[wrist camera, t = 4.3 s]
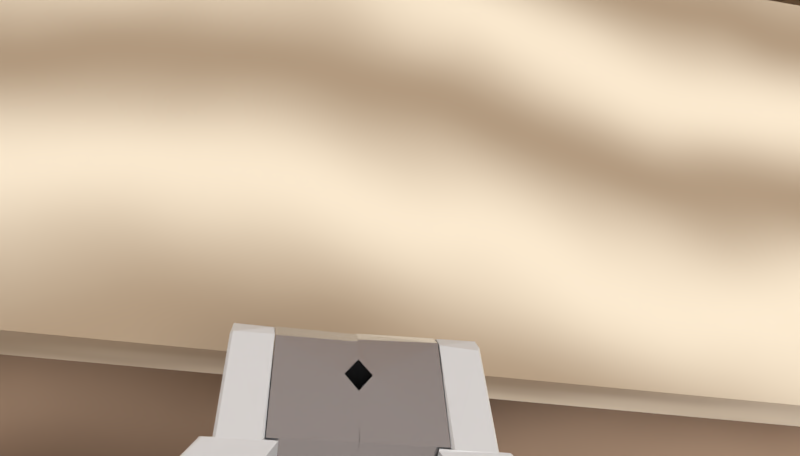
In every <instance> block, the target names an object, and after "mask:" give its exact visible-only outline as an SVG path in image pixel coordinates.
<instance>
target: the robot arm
mask: <svg viewBox="0 0 800 456" xmlns="http://www.w3.org/2000/svg"><path fill="white" fill-rule="evenodd" d="M274 339H275V345H274ZM273 352H274V354H273ZM180 456H513V455H512V454H511V453H503V452H499V449H498V444H497V439H496V434H495V428H494V423H493V418H492V412H491V407H490V402H489V396H488V391H487V386H486V380H485V375H484V370H483V365H482V359H481V354H480V349H479V347H478V345H477V344H476V343H475V341H460V340H445V339H436V340H434V339H432V338H417V337H402V336H386V335H371V334H347V333H337V332H327V331H317V330H307V329H297V328H287V327H277V328H276V336H275V327H270V326H260V325H250V324H240V323H234V324H233V326H232V329H231V331H230V335H229V341H228V347H227V353H226V359H225V365H224V371H223V377H222V383H221V389H220V395H219V400H218V406H217V412H216V418H215V424H214V430H213V436H199V437H198V438H197V439H196V440H195V441H194V442H193V443H192V444H191V445H190V446H189V447H188V448H187V449H186V450H185V451H184V452H183V453H182V454H181V455H180Z"/></svg>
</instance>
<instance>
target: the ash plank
mask: <svg viewBox="0 0 800 456" xmlns="http://www.w3.org/2000/svg"><path fill="white" fill-rule="evenodd" d="M234 323H240V324H250V325H260V326H270V327H275V336H276V328H277V327H287V328H297V329H307V330H317V331H327V332H337V333H347V334H371V335H386V336H402V337H417V338H432V339H434V340H436V339H445V340H460V341H475V343H476V344H477V345H478V347H479V349H480V354H481V359H482V365H483V370H484V375H485V380H486V386H487V391H488V396H489V399H500V400H511V401H522V402H533V403H544V404H555V405H567V406H578V407H589V408H600V409H611V410H622V411H633V412H644V413H655V414H666V415H677V416H688V417H699V418H710V419H721V420H733V421H744V422H755V423H766V424H777V425H788V426H799V427H800V6H799V5H793V4H787V3H782V2H776V1H770V0H0V354H2V355H13V356H24V357H35V358H46V359H57V360H68V361H80V362H91V363H102V364H113V365H124V366H135V367H146V368H157V369H168V370H179V371H190V372H201V373H212V374H223V371H224V365H225V359H226V353H227V347H228V341H229V335H230V331H231V329H232V326H233V324H234ZM274 345H275V339H274ZM273 354H274V352H273Z"/></svg>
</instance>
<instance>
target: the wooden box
mask: <svg viewBox="0 0 800 456" xmlns="http://www.w3.org/2000/svg"><path fill="white" fill-rule="evenodd" d="M770 1H776V2H782V3H787V4H793V5H799V6H800V0H770ZM222 377H223V374H212V373H201V372H190V371H179V370H168V369H157V368H146V367H135V366H124V365H113V364H102V363H91V362H80V361H68V360H57V359H46V358H35V357H24V356H13V355H2V354H0V456H180V455H181V454H182V453H183V452H184V451H185V450H186V449H187V448H188V447H189V446H190V445H191V444H192V443H193V442H194V441H195V440H196V439H197V438H198V437H199V436H213V430H214V424H215V418H216V412H217V406H218V400H219V395H220V389H221V383H222ZM489 402H490V407H491V412H492V418H493V423H494V428H495V434H496V439H497V444H498V449H499V452H503V453H511V454H512V455H513V456H800V427H799V426H788V425H777V424H766V423H755V422H744V421H733V420H721V419H710V418H699V417H688V416H677V415H666V414H655V413H644V412H633V411H622V410H611V409H600V408H589V407H578V406H567V405H555V404H544V403H533V402H522V401H511V400H500V399H489Z"/></svg>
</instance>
